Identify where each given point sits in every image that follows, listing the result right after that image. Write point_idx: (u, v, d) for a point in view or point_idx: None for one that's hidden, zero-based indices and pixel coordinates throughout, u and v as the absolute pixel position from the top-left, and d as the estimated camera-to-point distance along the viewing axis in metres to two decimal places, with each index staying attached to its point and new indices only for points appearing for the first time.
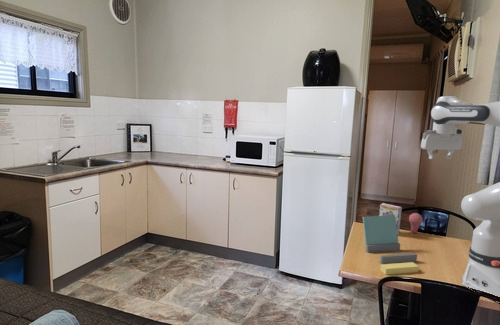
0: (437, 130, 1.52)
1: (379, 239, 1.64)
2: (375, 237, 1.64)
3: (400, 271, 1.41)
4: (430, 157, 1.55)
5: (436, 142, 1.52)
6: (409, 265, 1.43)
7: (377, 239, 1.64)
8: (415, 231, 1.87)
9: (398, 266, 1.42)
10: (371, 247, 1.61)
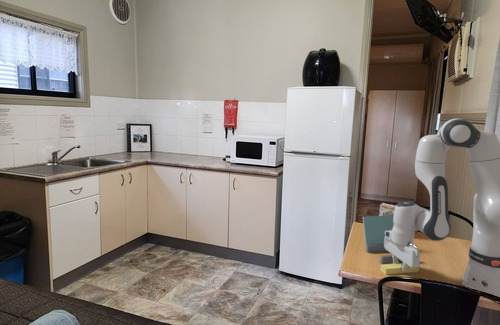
0: (411, 241, 1.37)
1: (379, 239, 1.64)
2: (375, 237, 1.64)
3: (400, 271, 1.41)
4: (405, 269, 1.40)
5: None
6: None
7: (377, 239, 1.64)
8: (415, 231, 1.87)
9: (398, 266, 1.42)
10: (371, 247, 1.61)
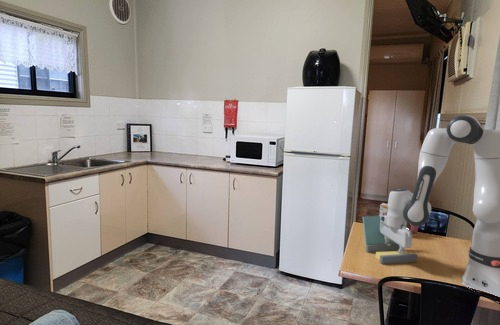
0: (404, 224, 1.49)
1: (379, 239, 1.64)
2: (375, 237, 1.64)
3: None
4: (401, 252, 1.50)
5: None
6: None
7: (377, 239, 1.64)
8: (415, 231, 1.87)
9: (392, 254, 1.54)
10: (371, 247, 1.61)
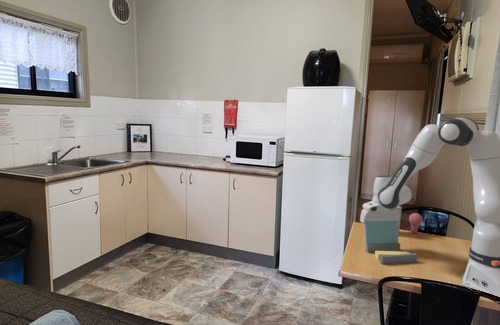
0: None
1: (379, 239, 1.64)
2: (375, 237, 1.63)
3: None
4: None
5: None
6: (402, 253, 1.55)
7: (377, 240, 1.64)
8: (415, 231, 1.87)
9: (391, 253, 1.55)
10: (371, 247, 1.61)
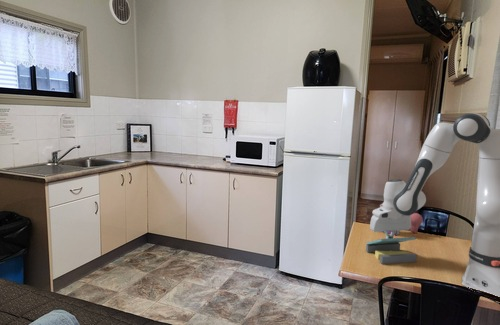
0: None
1: (382, 243, 1.62)
2: (379, 243, 1.60)
3: None
4: None
5: None
6: (403, 253, 1.55)
7: (379, 243, 1.62)
8: (415, 231, 1.87)
9: (391, 253, 1.55)
10: (371, 247, 1.61)
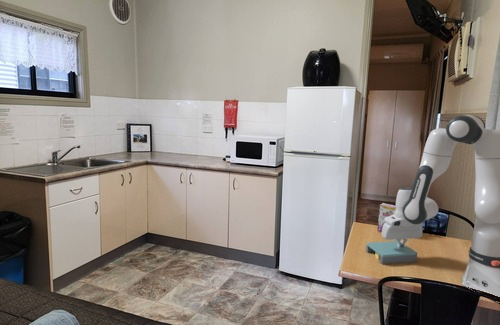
0: None
1: None
2: None
3: None
4: None
5: None
6: None
7: None
8: None
9: None
10: None
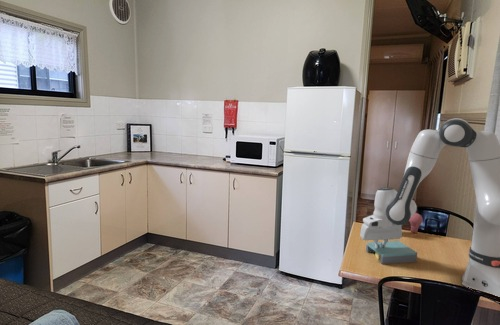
0: None
1: None
2: None
3: None
4: None
5: None
6: None
7: None
8: (415, 231, 1.87)
9: None
10: None
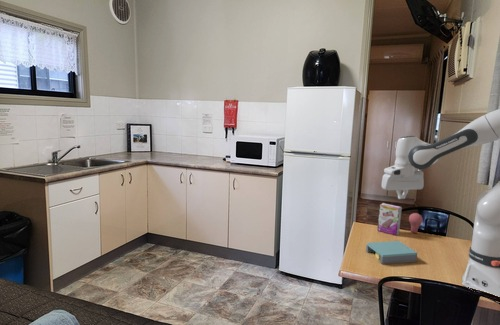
0: None
1: None
2: None
3: None
4: None
5: None
6: None
7: None
8: (415, 231, 1.87)
9: None
10: None
